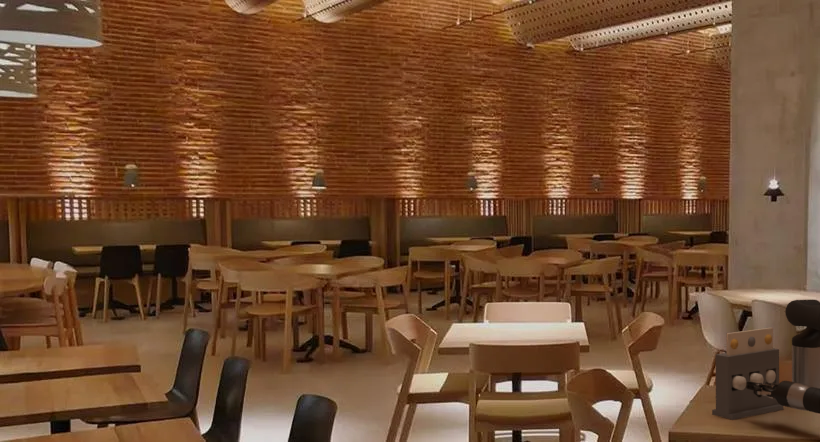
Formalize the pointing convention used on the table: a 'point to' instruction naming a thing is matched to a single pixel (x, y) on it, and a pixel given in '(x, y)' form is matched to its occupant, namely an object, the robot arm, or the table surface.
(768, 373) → the button
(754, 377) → the middle button
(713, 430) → the table surface
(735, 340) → the card
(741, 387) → the button
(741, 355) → the button panel
